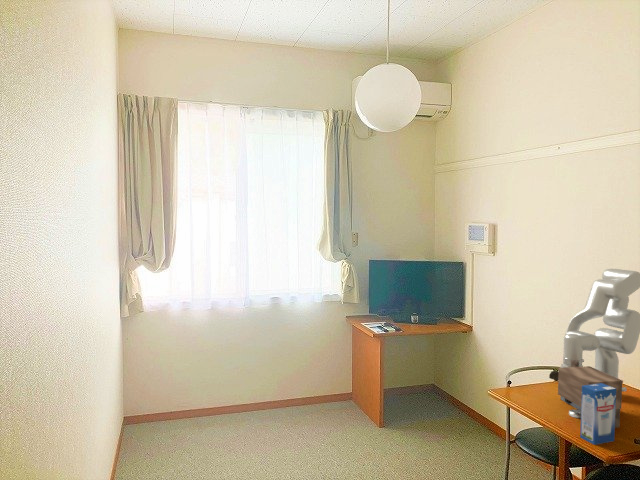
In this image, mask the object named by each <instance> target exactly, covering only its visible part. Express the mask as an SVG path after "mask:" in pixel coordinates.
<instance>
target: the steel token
mask: <svg viewBox="0 0 640 480" xmlns="http://www.w3.org/2000/svg"><path fill="white" fill-rule="evenodd" d="M568 416H570V417H572V418H575V419H581V411H580V410H578V409H569V410H568Z"/></svg>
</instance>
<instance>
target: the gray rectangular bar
mask: <svg viewBox="0 0 640 480" xmlns="http://www.w3.org/2000/svg"><path fill="white" fill-rule="evenodd" d="M560 400H561V401H563V402H565V398H564V397H562V396H560ZM565 403H566V404H568V405H570V406H571V407H573V408H574V409H575V410H579V411H581V407H580V406H578V405H576V404H574V403H573V402H570V404H569V403H567V402H565Z"/></svg>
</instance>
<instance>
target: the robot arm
mask: <svg viewBox="0 0 640 480" xmlns="http://www.w3.org/2000/svg"><path fill="white" fill-rule="evenodd" d="M601 278H602V279H601ZM601 278H599V279H596V280H594V281H593V283H592V284H591V287H590V290H589V293H588V296H587V300H586V303H585V305H584V308H583V309H581V311H579V312H577V313H576V314H575V315H574V316H573V317H572V318H571V319H570V320H569V322H568V325H567V327H566V330H565V334H564V336H563V361H562V363H561V365H560V367H559V368H564V367H584V365H583V363H584V362H585V359H583V351H586V352H591V351H593V352H594V351H595V353H594V355H595V357H594V358H595V359H594V368H595V369H597V370H599V371H602V372H604V373H606V374H609V375H611V376H613V377H616V378H618V379H619V365H620V364H619V361H620V360H619V357H618V354H617V353H619V354H624V355H631V354H633V353H634V351H635V350H636V348H637V346H638V342H639V339H640V338H639V337H640V312H638V310H633V309H629V308H628V306H629V303H630V296H631V295H632V294H634V293H635V292H636V291H638V290H639V289H640V272H639V271H636V270H628V269H619V268H606V269H605V270H603V272H602V274H601ZM601 317H602V322H603V323H604V324H605V325H606V326H609V327H611V328H612V327H613V328H616V329H621V330H623V331H619V330H615V329H611V328H606V327H605V328H604V327H602V328H601V327H600V328H598V329H596V330H595V331H594V333H588V332H584V331H581V330H580V328H581V327H582V325H584V324H585V323H586V322H588V321H591V320H595V319H598V318H601ZM627 391H628V390H627V387H623V386H622V393H624V392H627ZM566 402H567V403H566ZM570 402H571V401H569V400H567V399H565V403H566V404H568V403H569V404H570ZM569 404H568V405H569Z"/></svg>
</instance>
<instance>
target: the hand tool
mask: <svg viewBox="0 0 640 480" xmlns="http://www.w3.org/2000/svg"><path fill="white" fill-rule="evenodd" d="M558 377H559V371H557V370H552V371H550V373H549V377H548V378H549V379H551V380H554V381H558Z"/></svg>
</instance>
